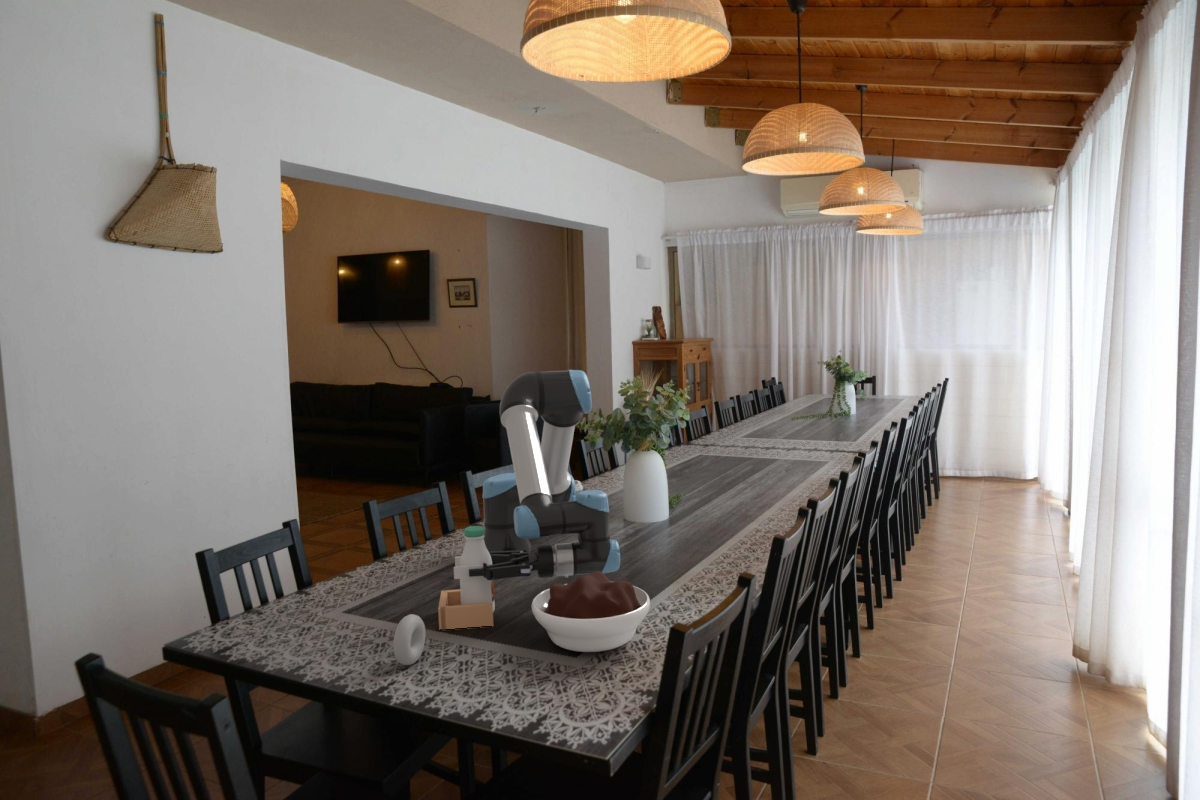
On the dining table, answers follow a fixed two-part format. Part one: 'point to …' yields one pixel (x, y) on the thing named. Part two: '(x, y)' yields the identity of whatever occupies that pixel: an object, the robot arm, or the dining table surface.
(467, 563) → the milk bottle
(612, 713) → the dining table surface
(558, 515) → the robot arm
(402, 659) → the donut
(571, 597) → the bowl of chocolate pudding
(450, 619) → the box
